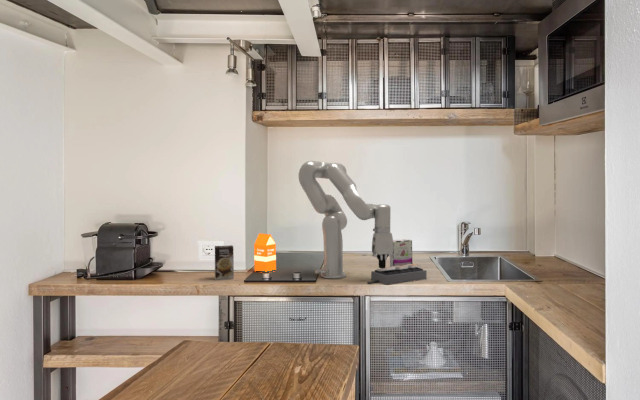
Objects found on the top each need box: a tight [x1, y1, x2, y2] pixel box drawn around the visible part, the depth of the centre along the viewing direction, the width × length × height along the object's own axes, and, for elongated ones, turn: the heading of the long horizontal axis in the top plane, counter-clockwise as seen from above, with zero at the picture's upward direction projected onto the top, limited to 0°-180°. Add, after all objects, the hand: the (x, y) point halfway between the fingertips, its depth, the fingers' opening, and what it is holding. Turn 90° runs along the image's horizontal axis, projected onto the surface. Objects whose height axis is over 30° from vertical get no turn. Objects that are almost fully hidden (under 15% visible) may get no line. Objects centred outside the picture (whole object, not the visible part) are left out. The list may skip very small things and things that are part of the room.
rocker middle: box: [393, 266, 408, 269], centre depth 215 cm, size 5×8×1 cm, turn 28°
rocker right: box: [402, 263, 421, 268], centre depth 219 cm, size 5×8×1 cm, turn 28°
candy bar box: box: [389, 238, 413, 267], centre depth 234 cm, size 11×5×16 cm, turn 105°
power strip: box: [366, 267, 428, 286], centre depth 214 cm, size 30×12×5 cm, turn 118°
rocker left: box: [376, 266, 396, 271], centre depth 212 cm, size 5×8×1 cm, turn 28°
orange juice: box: [253, 233, 277, 272], centre depth 238 cm, size 8×9×20 cm
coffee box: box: [214, 244, 235, 281], centre depth 222 cm, size 9×6×16 cm
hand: (382, 267), depth 215 cm, fingers closed
